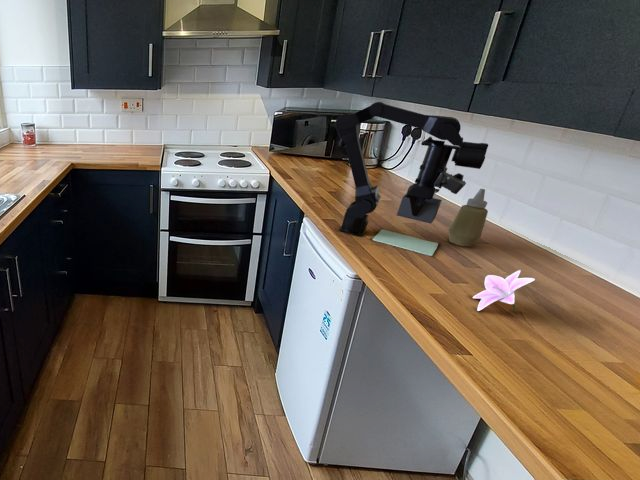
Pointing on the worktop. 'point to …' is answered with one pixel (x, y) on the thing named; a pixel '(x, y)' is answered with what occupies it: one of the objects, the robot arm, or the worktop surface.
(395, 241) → the mat
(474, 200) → the squeeze bottle
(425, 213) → the bin
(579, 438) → the worktop surface
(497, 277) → the lily
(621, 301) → the worktop surface
